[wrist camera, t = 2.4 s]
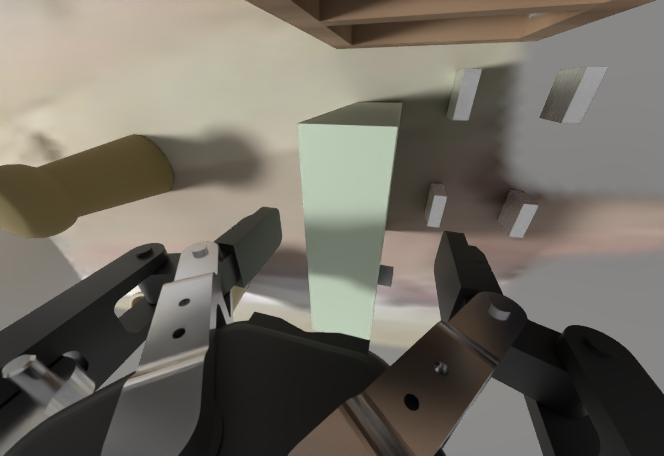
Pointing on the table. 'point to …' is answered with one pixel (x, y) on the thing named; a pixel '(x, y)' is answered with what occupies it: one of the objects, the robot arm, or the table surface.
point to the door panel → (347, 211)
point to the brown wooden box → (438, 19)
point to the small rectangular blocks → (561, 106)
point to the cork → (80, 186)
